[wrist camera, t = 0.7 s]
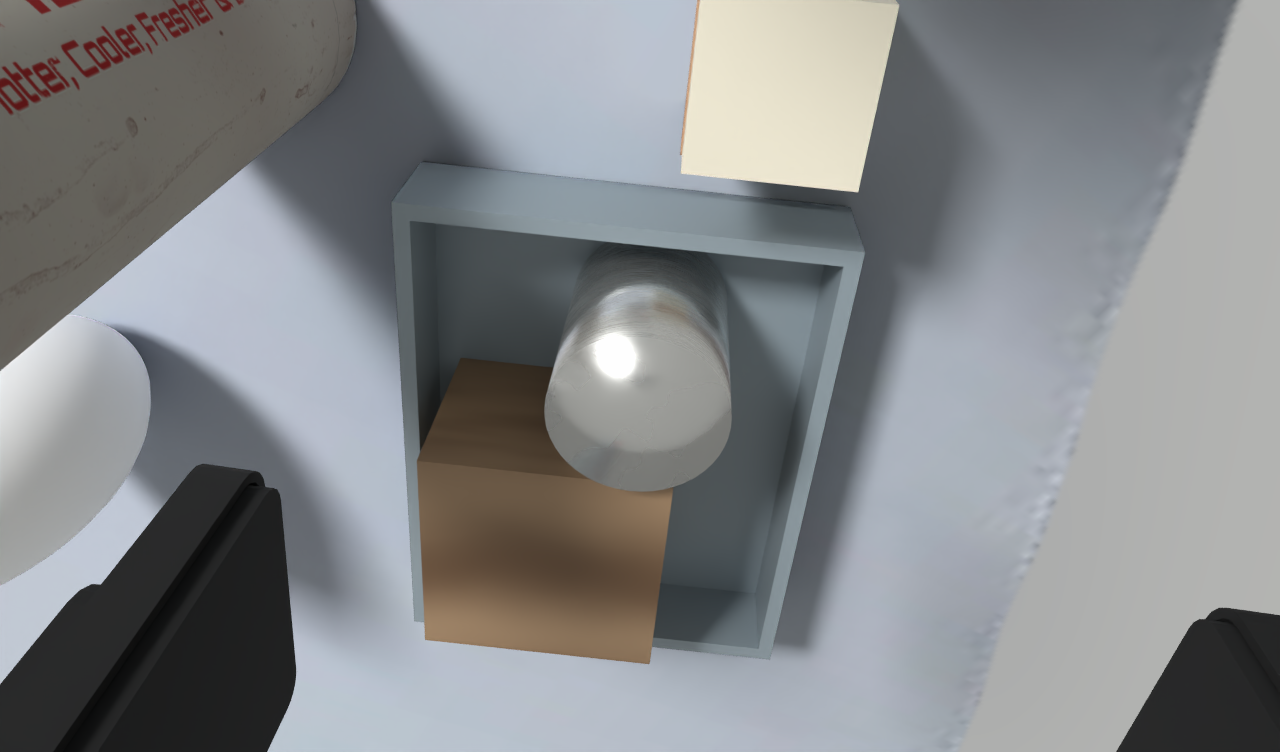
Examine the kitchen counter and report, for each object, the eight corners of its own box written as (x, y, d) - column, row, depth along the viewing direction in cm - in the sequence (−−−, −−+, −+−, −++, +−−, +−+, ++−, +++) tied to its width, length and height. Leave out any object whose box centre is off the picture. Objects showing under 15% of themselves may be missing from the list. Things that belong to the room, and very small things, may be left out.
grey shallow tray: (421, 161, 35) (390, 202, 32) (850, 207, 35) (865, 252, 32) (435, 559, 46) (414, 621, 43) (765, 594, 46) (769, 659, 43)
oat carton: (702, -63, 31) (700, -18, 24) (859, -46, 31) (901, 3, 24) (684, 95, 34) (678, 174, 27) (829, 110, 33) (859, 193, 27)
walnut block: (460, 357, 39) (416, 460, 33) (678, 380, 39) (673, 488, 33) (463, 523, 44) (425, 639, 38) (657, 544, 44) (649, 664, 38)
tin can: (577, 222, 36) (547, 327, 29) (737, 239, 36) (744, 347, 29) (570, 359, 39) (541, 481, 32) (716, 374, 39) (718, 500, 32)
